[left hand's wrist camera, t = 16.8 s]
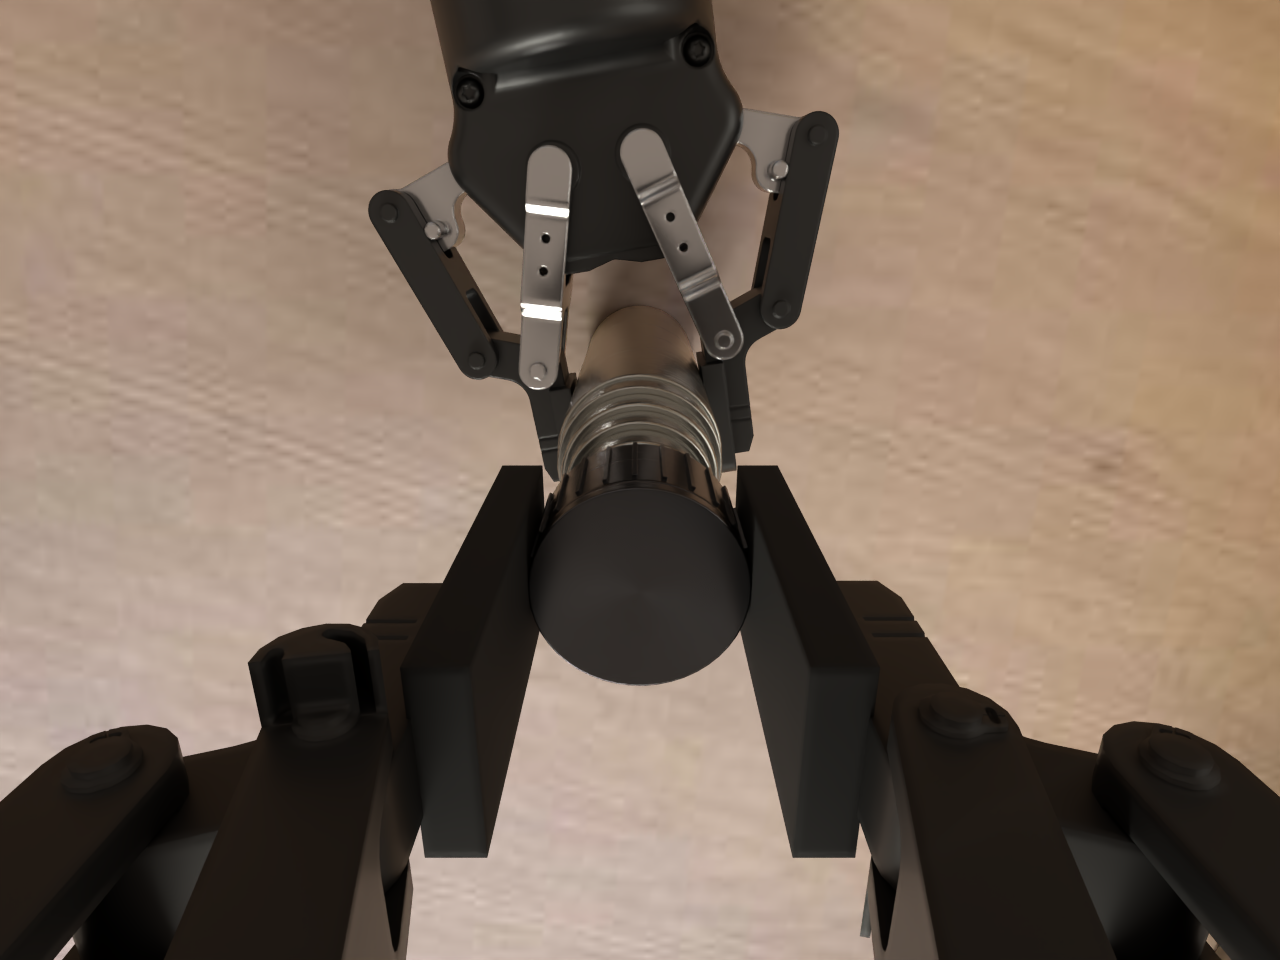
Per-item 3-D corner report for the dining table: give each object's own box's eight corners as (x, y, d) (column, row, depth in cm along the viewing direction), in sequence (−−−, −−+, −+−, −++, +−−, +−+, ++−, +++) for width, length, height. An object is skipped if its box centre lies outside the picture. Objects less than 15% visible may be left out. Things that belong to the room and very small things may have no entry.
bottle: (676, 292, 29) (728, 433, 12) (702, 391, 31) (783, 648, 13) (575, 321, 30) (483, 500, 12) (605, 418, 31) (562, 701, 14)
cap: (500, 522, 14) (476, 579, 12) (652, 399, 14) (655, 437, 11) (628, 652, 16) (626, 725, 13) (777, 544, 15) (801, 604, 12)
